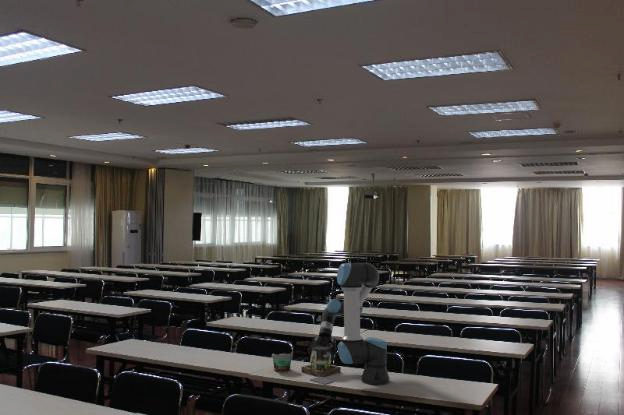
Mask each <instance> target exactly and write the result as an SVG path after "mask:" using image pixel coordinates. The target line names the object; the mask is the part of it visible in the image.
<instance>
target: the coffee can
mask: <svg viewBox="0 0 624 415" xmlns="http://www.w3.org/2000/svg"><path fill="white" fill-rule="evenodd" d="M312 349H313V362H312V369H315V370H319V371H325V370H328V369H330V366H329V364H328V362H329V356H330V353H331V352H330V347H328V346H327V345H320V346H315V345H314V346H313V348H312Z"/></svg>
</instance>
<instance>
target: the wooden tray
mask: <svg viewBox="0 0 624 415" xmlns="http://www.w3.org/2000/svg"><path fill="white" fill-rule="evenodd" d="M312 364H313V363H312ZM312 364H308V365H303V366H301V373H303V374H307V375H310V376H311V375H312V376H315V377H324V378H327V377H329V376H333V375H337V374H339V373H342V371H341V369H342V367H341V366H337V365H333V364H330V369H328V370H325V371H319V370H315V369H312Z"/></svg>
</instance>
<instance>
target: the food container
mask: <svg viewBox="0 0 624 415" xmlns="http://www.w3.org/2000/svg"><path fill="white" fill-rule="evenodd" d="M271 357H272V362H273V370H274V371H275V372H278V373H286V372H290V371H291V363H292V358H293V352H290V353H279V354H276V353H272V354H271Z"/></svg>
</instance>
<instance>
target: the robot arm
mask: <svg viewBox="0 0 624 415" xmlns="http://www.w3.org/2000/svg"><path fill="white" fill-rule="evenodd" d="M336 280H337V284H338V285H340V288H341V289H342V290H343V301H341V302H340V300H338V299H335V298H334V299H331V300H329V302H328V303H327V304H326V307H324V309H323V311H322V316H321V322H320V327H319V332H318V336H317V337H315V336H313V337H312V341H311V342H310V344H309V346H308V348H307V353H308V354H309V356H308V357H309V359H310V361H309V363H310V364H309V365H311V364H313V349H312V348H313V347H314V346H328V347H330V356H329V362H328V364H329V366H330V365H332V364H331V363H332V361H333V360H334V356H337V355H338V356H339V360H340V362H341V363H342V364H345V365H353V364H364V369H363V370H362V371H363V372H362V375H361V382H362V383H364V384H367V383H368V385H373V384H382V385H386V384H385V383H387V384H389V383H390V374H389V372H388V369H387V353H388V352H387V350H388V349H387V348H388V346H387V342H386V340H384V339H381V338H378V337H369V336H368V337H365V340H364V337H363V336H362V335H361V314H362V313H363V309H364V307H363V306H364V305H363V304H364V302H365V301H366V299H367V297H368V296H369V294H370V293H371V291H372V289H374V288H375V287H376V286H377V284H378V283H379V281H380V273H379V270H378V269H377V267H376V266H375V265H373V264H372V263H369V262H345V263H341V264H340V265H339V267H338V269H337V273H336ZM337 316H343V330H344V331H343V332H344V333H343V334H344V335H343V336H342V337H341V341H340V342H339V343H338V344H337V345H336V342H337V339H336V338H335V337H333V338H332V335H333V328H334V323H335V322H334V321H335V319H336V317H337ZM330 343H332V344H333V348H332V346H331V344H330ZM388 382H389V383H388Z"/></svg>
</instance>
